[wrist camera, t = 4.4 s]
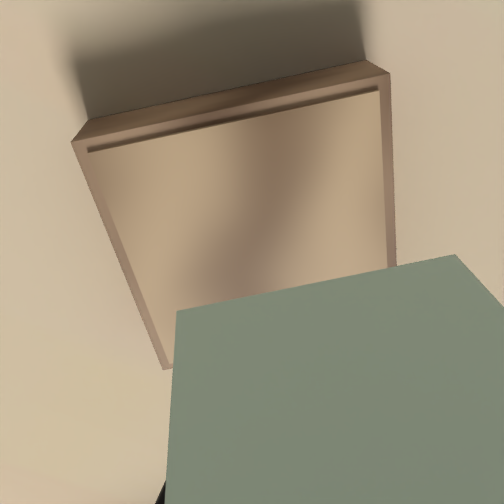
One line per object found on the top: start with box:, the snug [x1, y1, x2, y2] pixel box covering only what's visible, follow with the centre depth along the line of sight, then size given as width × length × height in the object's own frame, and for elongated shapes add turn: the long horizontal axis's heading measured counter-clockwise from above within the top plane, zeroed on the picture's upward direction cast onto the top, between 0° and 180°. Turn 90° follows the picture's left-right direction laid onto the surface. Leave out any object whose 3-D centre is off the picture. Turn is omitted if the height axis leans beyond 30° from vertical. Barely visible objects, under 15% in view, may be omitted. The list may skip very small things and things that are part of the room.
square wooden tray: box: [71, 60, 397, 370], centre depth 18 cm, size 10×10×3 cm
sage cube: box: [165, 254, 504, 504], centre depth 7 cm, size 5×5×5 cm
